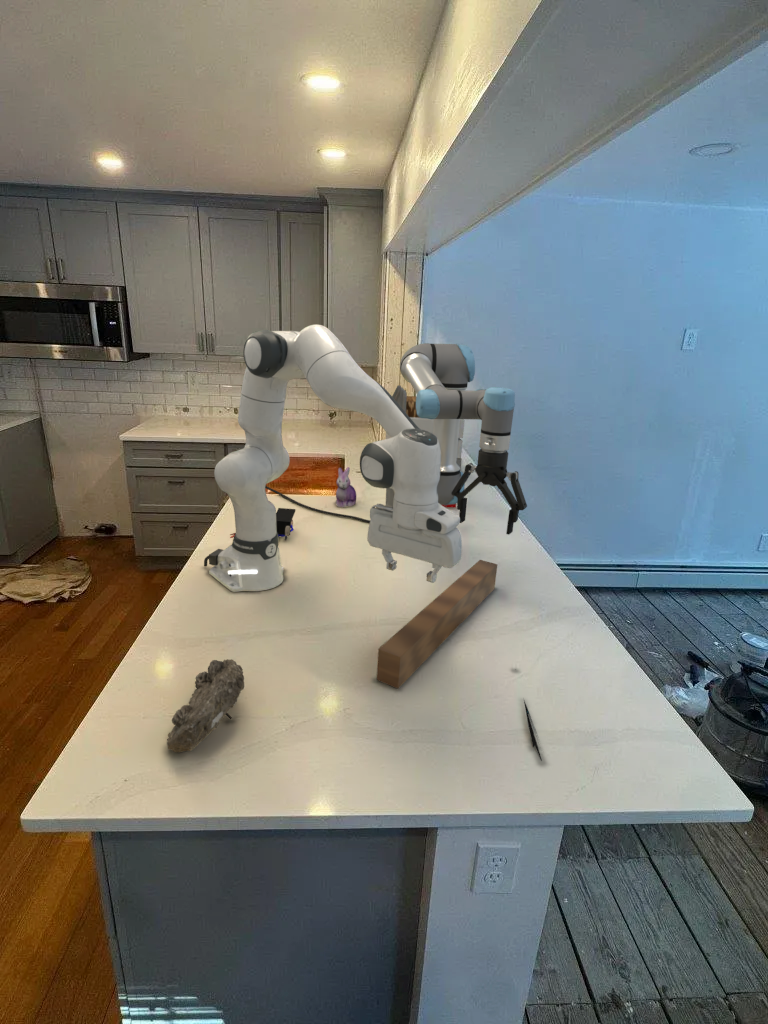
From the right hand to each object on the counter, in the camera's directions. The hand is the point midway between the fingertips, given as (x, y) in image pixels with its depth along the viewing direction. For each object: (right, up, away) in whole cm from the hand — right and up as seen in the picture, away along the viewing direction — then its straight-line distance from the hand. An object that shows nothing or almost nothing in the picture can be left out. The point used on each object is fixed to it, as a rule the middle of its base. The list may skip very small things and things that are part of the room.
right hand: (485, 527), depth 152 cm
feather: (+1, -36, -39) cm, 53 cm away
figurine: (-43, +7, +75) cm, 87 cm away
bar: (-12, -25, -10) cm, 29 cm away
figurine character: (-61, -4, +42) cm, 75 cm away
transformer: (-10, +23, +123) cm, 125 cm away
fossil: (-60, -35, -44) cm, 82 cm away
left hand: (-22, -9, -35) cm, 42 cm away
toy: (-3, +10, +89) cm, 90 cm away
